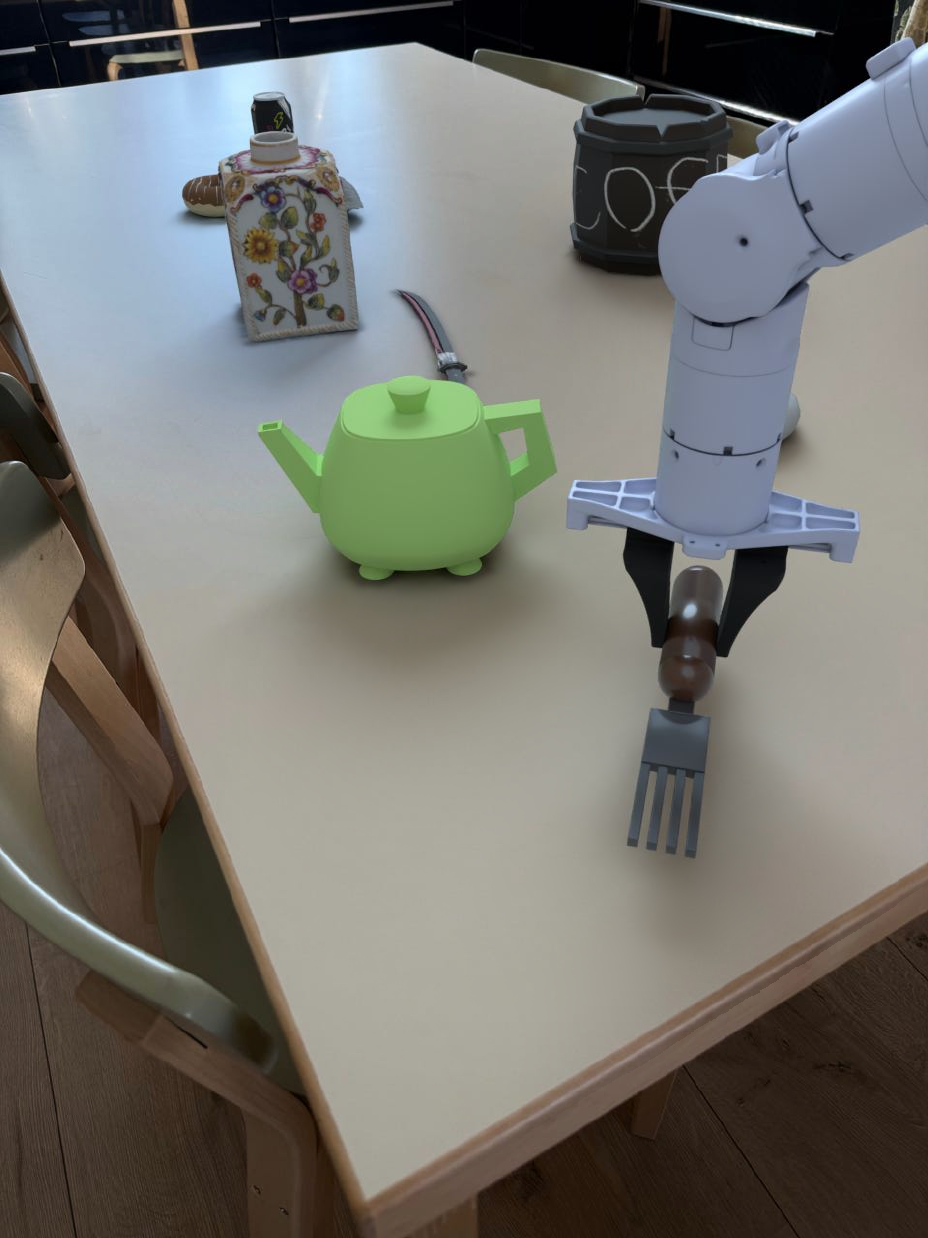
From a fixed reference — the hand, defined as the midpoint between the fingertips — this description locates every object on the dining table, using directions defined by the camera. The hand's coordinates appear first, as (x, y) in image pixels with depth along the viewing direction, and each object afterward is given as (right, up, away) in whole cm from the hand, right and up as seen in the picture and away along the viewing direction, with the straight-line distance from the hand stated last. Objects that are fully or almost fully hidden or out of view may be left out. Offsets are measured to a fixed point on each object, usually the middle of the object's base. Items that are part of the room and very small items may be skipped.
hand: (690, 641), depth 56 cm
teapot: (-16, +7, +16) cm, 24 cm away
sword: (-16, +29, +43) cm, 55 cm away
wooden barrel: (+9, +45, +62) cm, 77 cm away
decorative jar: (-31, +34, +50) cm, 68 cm away
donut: (+10, +17, +28) cm, 34 cm away
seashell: (-31, +56, +77) cm, 100 cm away
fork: (-1, -3, -2) cm, 4 cm away
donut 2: (-47, +59, +82) cm, 111 cm away
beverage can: (-40, +66, +91) cm, 119 cm away
